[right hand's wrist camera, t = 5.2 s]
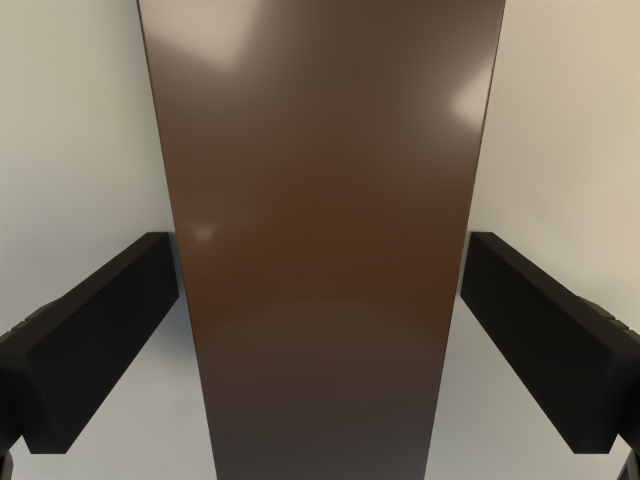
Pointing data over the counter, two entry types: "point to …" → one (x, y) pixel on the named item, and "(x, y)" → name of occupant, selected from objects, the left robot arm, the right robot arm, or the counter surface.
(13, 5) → the counter surface
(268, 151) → the plank
